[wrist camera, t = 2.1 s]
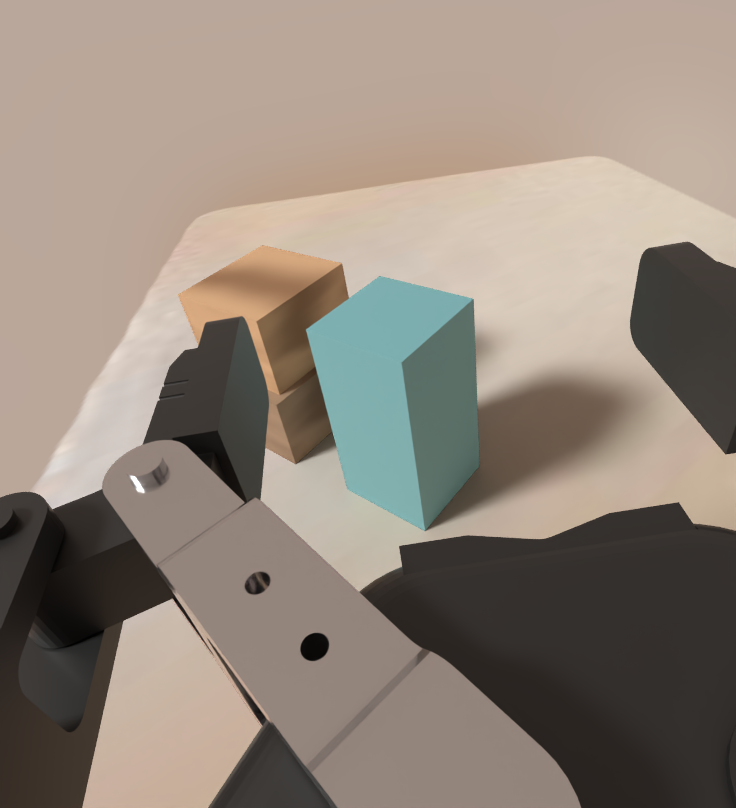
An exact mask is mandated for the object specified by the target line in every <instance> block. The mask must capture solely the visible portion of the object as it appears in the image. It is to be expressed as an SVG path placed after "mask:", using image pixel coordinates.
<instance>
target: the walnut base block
mask: <svg viewBox="0 0 736 808" xmlns="http://www.w3.org/2000/svg"><path fill="white" fill-rule="evenodd" d="M268 396H269V413H268V423H267V434H266V445H265V448H267V449H269V450H271V451H273V452H274V453H276V454H278V455H280V456H282V457H284V458H285V459H287V460H289V461H291V462H293V463H295V464H297V463H298V462H299V461H300V460H301V459H302V458H303V457H304V456H306V455H307V454H308V453H309V452H310V451H311V450H312V449H313V448H314V447H316V446H317V445H318V444H319V443H320V442H321V441H322V440H323V439H325V438H326V437H327V436H328V435H329V434H330V433H331V432H332V428H331V424H330V420H329V416H328V412H327V409H326V405H325V401H324V397H323V393H322V389H321V385H320V382H319V378H318V374H317V370H316V367H314V368H313V369H312V370H311V371H309V372H308V373H307V374H306V375H304V376H303V377H302V378H301V379H299V380H298V381H297V382H296V383H294V384H293V385H292V386H291V387H289V388H288V389H287V390H286V391H284V392H283V393H282V394H281V395H278V394H276V393H274V392H272V391H269V390H268Z"/></svg>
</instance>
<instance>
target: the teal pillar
mask: <svg viewBox="0 0 736 808" xmlns="http://www.w3.org/2000/svg"><path fill="white" fill-rule="evenodd" d="M306 332H307V335H308V339H309V343H310V347H311V351H312V355H313V359H314V362H315V366H316V370H317V374H318V378H319V382H320V385H321V389H322V393H323V397H324V401H325V405H326V409H327V412H328V416H329V420H330V424H331V428H332V432H333V436H334V439H335V443H336V447H337V451H338V455H339V459H340V462H341V466H342V470H343V474H344V478H345V482H346V486H347V489H348V490H350V491H352V492H353V493H355V494H357V495H359V496H361V497H363V498H365V499H366V500H368V501H370V502H372V503H374V504H376V505H378V506H379V507H381V508H383V509H385V510H387V511H389V512H391V513H392V514H394V515H396V516H398V517H400V518H402V519H403V520H405V521H407V522H409V523H411V524H413V525H415V526H416V527H418V528H420V529H422V530H424V531H426V529H427V528H428V527H429V526H430V525H431V523H432V522H433V521H434V520H435V519H436V517H437V516H438V515H439V514H440V513H441V512H442V510H443V509H444V508H445V507H446V506H447V504H448V503H449V502H450V501H451V500H452V498H453V497H454V496H455V495H456V494H457V492H458V491H459V490H460V489H461V488H462V486H463V485H464V484H465V483H466V482H467V480H468V479H469V478H470V477H471V476H472V474H473V473H474V472H475V471H476V470H477V469H478V467H479V466H480V461H479V435H478V408H477V381H476V354H475V327H474V300H473V299H472V298H468V297H464V296H460V295H455V294H451V293H447V292H443V291H439V290H435V289H431V288H427V287H423V286H418V285H414V284H410V283H406V282H402V281H398V280H394V279H390V278H386V277H381V276H379V277H378V278H377V279H375V280H374V281H372V282H371V283H370V284H368V285H367V286H366V287H364V288H363V289H361V290H360V291H359V292H357V293H356V294H354V295H353V296H352V297H350V298H349V299H348V300H346V301H345V302H343V303H342V304H341V305H339V306H338V307H336V308H335V309H334V310H332V311H331V312H330V313H328V314H327V315H325V316H324V317H323V318H321V319H320V320H318V321H317V322H316V323H314V324H313V325H312V326H310V327H309V328H307V329H306Z"/></svg>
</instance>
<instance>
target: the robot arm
mask: <svg viewBox="0 0 736 808" xmlns="http://www.w3.org/2000/svg"><path fill="white" fill-rule="evenodd" d="M630 329H631V335H632V339H633V341H634V344H635V346H636V347H637V349H638V350H639V351H640V352H641V354H642V355H643V356H644V357H645V358H646V360H647V361H648V362H649V363H650V364H651V366H652V367H653V368H654V369H655V370H656V372H657V373H658V374H659V375H660V376H661V378H662V379H663V380H664V381H665V382H666V384H667V385H668V386H669V387H670V388H671V390H672V391H673V392H674V393H675V394H676V396H677V397H678V398H679V399H680V400H681V402H682V403H683V404H684V405H685V406H686V408H687V409H688V410H689V411H690V412H691V414H692V415H693V416H694V417H695V418H696V420H697V421H698V422H699V423H700V424H701V426H702V427H703V428H704V429H705V430H706V432H707V433H708V434H709V435H710V436H711V438H712V439H713V440H714V441H715V442H716V444H717V445H718V446H719V447H720V448H721V450H722V451H723V452H724V453H725V454H731V453H736V268H734V267H731V266H728V265H726V264H723V263H720V262H716V261H715V260H714V259H712V258H711V257H710V256H708V255H707V254H706V253H704V252H703V251H702V250H700V249H699V248H698V247H696V246H695V245H694V244H692V243H690V242H682V243H676V244H670V245H664V246H659V247H653V248H648V249H646V250H645V251H644V253H643V254H642V256H641V259H640V264H639V270H638V276H637V282H636V288H635V294H634V299H633V305H632V311H631V318H630ZM159 399H160V401H158V402H157V405H156V408H155V410H154V413H153V416H152V419H151V422H150V425H149V428H148V431H147V434H146V437H145V439H144V442H143V445H141V446H138V447H136V448H134V449H132V450H131V451H129V452H127V453H126V454H124V455H123V456H122V457H120V458H119V459H118V460H117V461H116V462H115V463H114V464H113V465H112V466H111V467H110V469H109V470H108V471H107V473H106V475H105V477H104V480H103V485H102V489H101V490H99V491H97V492H95V493H93V494H90V495H88V496H85V497H82V498H80V499H77V500H75V501H72V502H70V503H67V504H65V505H62V506H60V507H57V508H55V509H52V508H51V507H50V506H49V504H48V503H47V502H46V500H45V499H44V498H43V497H42V496H40V495H38V494H36V493H31V492H20V493H14V494H10V495H6V496H4V497H1V498H0V808H82V806H83V801H84V797H85V792H86V788H87V783H88V778H89V774H90V769H91V765H92V760H93V756H94V751H95V747H96V742H97V738H98V733H99V729H100V724H101V719H102V715H103V710H104V706H105V701H106V697H107V692H108V688H109V683H110V679H111V674H112V670H113V665H114V660H115V656H116V651H117V647H118V642H119V638H120V633H121V629H122V624H123V621H124V620H126V619H128V618H130V617H133V616H135V615H137V614H139V613H141V612H144V611H146V610H148V609H150V608H152V607H155V606H157V605H159V604H161V603H163V602H166V601H168V600H170V599H172V600H173V602H174V603H175V604H176V606H177V607H178V609H179V610H180V612H181V613H182V614H183V616H184V617H185V619H186V620H187V621H188V623H189V624H190V626H191V627H192V628H193V630H194V631H195V633H196V634H197V635H198V637H199V638H200V640H201V641H202V642H203V644H204V645H205V647H206V648H207V649H208V651H209V652H210V654H211V655H212V656H213V658H214V659H215V661H216V662H217V663H218V665H219V666H220V668H221V669H222V671H223V672H224V673H225V675H226V676H227V678H228V679H229V681H230V682H231V684H232V685H233V687H234V688H235V690H236V691H237V693H238V694H239V696H240V697H241V698H242V700H243V701H244V703H245V704H246V706H247V707H248V709H249V710H250V712H251V713H252V714H253V716H254V717H255V719H256V720H257V721H258V723H259V724H260V726H261V727H262V728H261V729H260V731H259V732H258V734H257V735H256V737H255V738H254V740H253V741H252V743H251V744H250V746H249V747H248V749H247V750H246V752H245V753H244V755H243V756H242V758H241V759H240V761H239V762H238V764H237V765H236V767H235V768H234V770H233V771H232V773H231V774H230V776H229V777H228V779H227V780H226V782H225V783H224V785H223V786H222V788H221V789H220V791H219V792H218V794H217V795H216V797H215V798H214V800H213V801H212V803H211V804H210V806H209V807H208V808H736V531H734V530H730V529H725V528H721V527H715V526H709V525H702V524H693V523H692V521H691V520H690V519H689V517H688V516H687V514H686V513H685V511H684V510H683V508H682V507H681V505H680V504H679V502H678V503H672V504H665V505H659V506H653V507H646V508H640V509H633V510H627V511H621V512H614V513H609V514H606V515H604V516H601V517H599V518H596V519H594V520H592V521H589V522H587V523H584V524H582V525H579V526H577V527H574V528H572V529H569V530H567V531H565V532H562V533H560V534H557V535H555V536H552V537H549V538H546V539H521V538H503V537H485V536H461V537H454V538H448V539H441V540H435V541H429V542H422V543H416V544H409V545H403V546H399V548H400V555H401V561H402V567H401V568H398V569H396V570H393V571H391V572H389V573H387V574H385V575H384V576H382V577H380V578H378V579H376V580H375V581H373V582H372V583H370V584H369V585H368V586H366V587H365V588H363V589H362V590H361V591H360V592H358V591H357V590H356V589H355V588H354V587H353V586H352V585H351V584H350V583H349V582H348V581H347V580H346V579H344V578H343V577H342V576H341V575H340V574H339V573H338V572H337V571H336V570H335V569H334V568H333V567H332V566H331V565H329V564H328V563H327V562H326V561H325V560H324V559H323V558H322V557H321V556H320V555H319V554H318V553H317V552H316V551H314V550H313V549H312V548H311V547H310V546H309V545H308V544H307V543H306V542H305V541H304V540H303V539H302V538H301V537H300V536H298V535H297V534H296V533H295V532H294V531H293V530H292V529H291V528H290V527H289V526H288V525H287V524H286V523H285V522H283V521H282V520H281V519H280V518H279V517H278V516H277V515H276V514H275V513H274V512H273V511H272V510H271V509H270V508H268V507H267V506H266V505H265V504H264V503H263V502H262V501H260V498H261V488H262V477H263V466H264V456H265V445H266V434H267V423H268V413H269V396H268V389H267V384H266V380H265V377H264V374H263V370H262V367H261V364H260V361H259V358H258V355H257V352H256V349H255V346H254V343H253V339H252V336H251V333H250V330H249V327H248V324H247V322H246V320H245V318H244V317H243V316H239V317H233V318H228V319H222V320H216V321H210V322H206V323H205V325H204V328H203V332H202V335H201V339H200V342H199V345H198V348H195V349H189V350H185V351H184V352H183V353H182V354H181V355H180V356H179V357H178V358H177V359H176V360H175V361H174V362H173V364H172V365H171V366H170V367H169V370H168V373H167V376H166V379H165V381H164V387H162V390H161V393H160V396H159Z"/></svg>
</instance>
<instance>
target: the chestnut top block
mask: <svg viewBox="0 0 736 808" xmlns="http://www.w3.org/2000/svg"><path fill="white" fill-rule="evenodd" d="M178 296H179V299H180V301H181V304H182V306H183V308H184V311H185V313H186V316H187V318H188V321H189V323H190V326H191V328H192V330H193V333H194V335H195V338H196V340H197V343H198V345H199V342H200V339H201V335H202V332H203V328H204V325H205V323H206V322H210V321H216V320H222V319H228V318H233V317H239V316H243V317H244V318H245V320H246V322H247V324H248V327H249V330H250V333H251V336H252V339H253V343H254V346H255V349H256V352H257V355H258V358H259V361H260V364H261V367H262V370H263V374H264V377H265V380H266V384H267V389H268V390H269V391H272V392H274V393H276V394H278V395H281V394H282V393H283V392H284V391H286V390H287V389H288V388H289V387H291V386H292V385H293V384H294V383H296V382H297V381H298V380H299V379H301V378H302V377H303V376H304V375H306V374H307V373H308V372H309V371H311V370H312V369H313V368H314V367H316V366H315V362H314V359H313V355H312V351H311V347H310V343H309V339H308V335H307V332H306V329H307V328H309V327H310V326H312V325H313V324H314V323H316V322H317V321H318V320H320V319H321V318H323V317H324V316H325V315H327V314H328V313H330V312H331V311H332V310H334V309H335V308H336V307H338V306H339V305H341V304H342V303H343V302H345V301H346V300H348V299H349V297H348V292H347V287H346V282H345V276H344V271H343V266H342V263H338V262H334V261H329V260H325V259H321V258H316V257H312V256H307V255H303V254H299V253H294V252H290V251H285V250H281V249H277V248H272V247H268V246H263V245H262V246H261V247H259V248H257V249H255V250H254V251H252V252H250V253H249V254H247V255H245V256H243V257H242V258H240V259H238V260H237V261H235V262H233V263H231V264H230V265H228V266H226V267H225V268H223V269H221V270H219V271H218V272H216V273H214V274H213V275H211V276H209V277H207V278H206V279H204V280H202V281H201V282H199V283H197V284H195V285H194V286H192V287H190V288H189V289H187V290H185V291H183V292H182V293H180V294H178Z"/></svg>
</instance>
